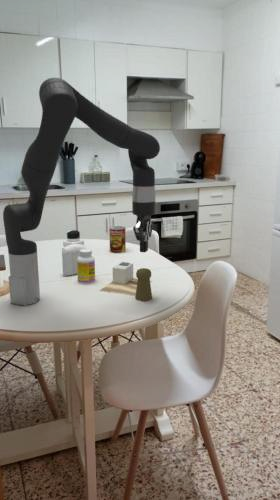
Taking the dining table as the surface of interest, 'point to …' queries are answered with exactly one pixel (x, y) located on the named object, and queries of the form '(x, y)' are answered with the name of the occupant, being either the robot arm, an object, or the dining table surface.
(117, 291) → the board
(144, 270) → the cork
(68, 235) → the medicine bottle
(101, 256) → the dining table surface
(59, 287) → the dining table surface
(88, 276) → the supplement bottle
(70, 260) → the photo printer
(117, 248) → the canned food
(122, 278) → the white box
